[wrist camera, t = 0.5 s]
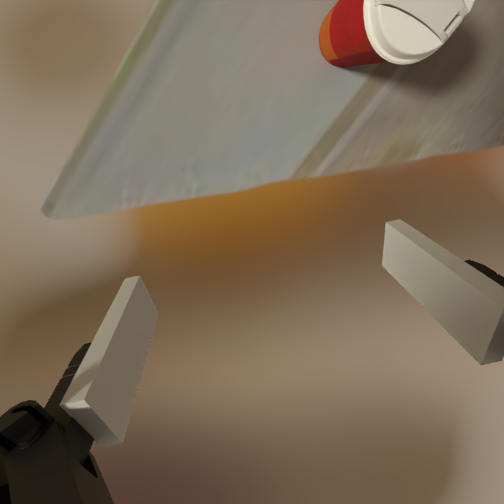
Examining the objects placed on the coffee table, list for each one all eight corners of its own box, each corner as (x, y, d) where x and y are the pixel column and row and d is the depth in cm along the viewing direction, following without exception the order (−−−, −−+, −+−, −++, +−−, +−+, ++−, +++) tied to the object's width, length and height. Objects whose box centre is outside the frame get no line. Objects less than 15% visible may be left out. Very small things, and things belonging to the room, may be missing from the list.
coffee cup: (391, 27, 31) (512, -25, 19) (342, 92, 34) (417, 87, 21) (343, -34, 28) (447, -147, 15) (294, 43, 31) (347, 2, 18)
